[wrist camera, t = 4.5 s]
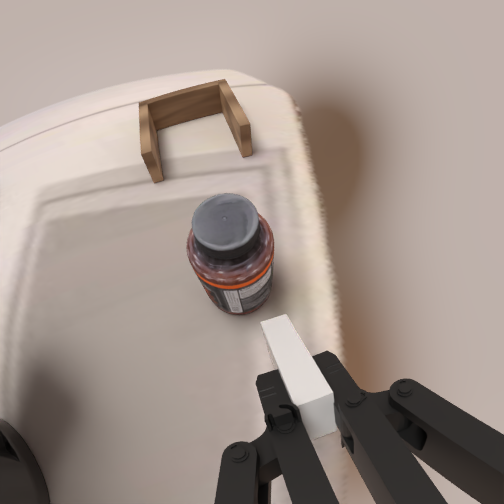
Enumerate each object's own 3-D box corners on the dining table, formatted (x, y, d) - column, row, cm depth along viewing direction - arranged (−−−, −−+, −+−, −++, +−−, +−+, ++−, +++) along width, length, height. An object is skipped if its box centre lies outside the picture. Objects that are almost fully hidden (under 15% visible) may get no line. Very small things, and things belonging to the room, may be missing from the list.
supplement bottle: (198, 272, 28) (162, 201, 18) (254, 247, 29) (248, 166, 19) (223, 327, 25) (194, 282, 15) (283, 299, 26) (294, 236, 16)
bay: (252, 155, 34) (250, 123, 30) (154, 183, 33) (141, 154, 29) (228, 106, 40) (225, 79, 35) (148, 128, 38) (138, 102, 34)
